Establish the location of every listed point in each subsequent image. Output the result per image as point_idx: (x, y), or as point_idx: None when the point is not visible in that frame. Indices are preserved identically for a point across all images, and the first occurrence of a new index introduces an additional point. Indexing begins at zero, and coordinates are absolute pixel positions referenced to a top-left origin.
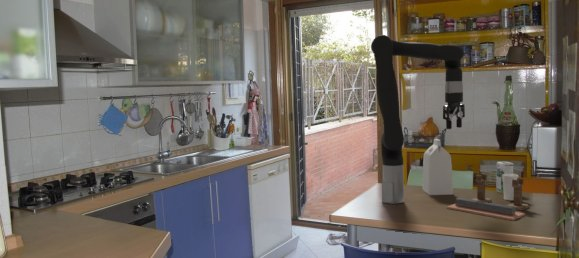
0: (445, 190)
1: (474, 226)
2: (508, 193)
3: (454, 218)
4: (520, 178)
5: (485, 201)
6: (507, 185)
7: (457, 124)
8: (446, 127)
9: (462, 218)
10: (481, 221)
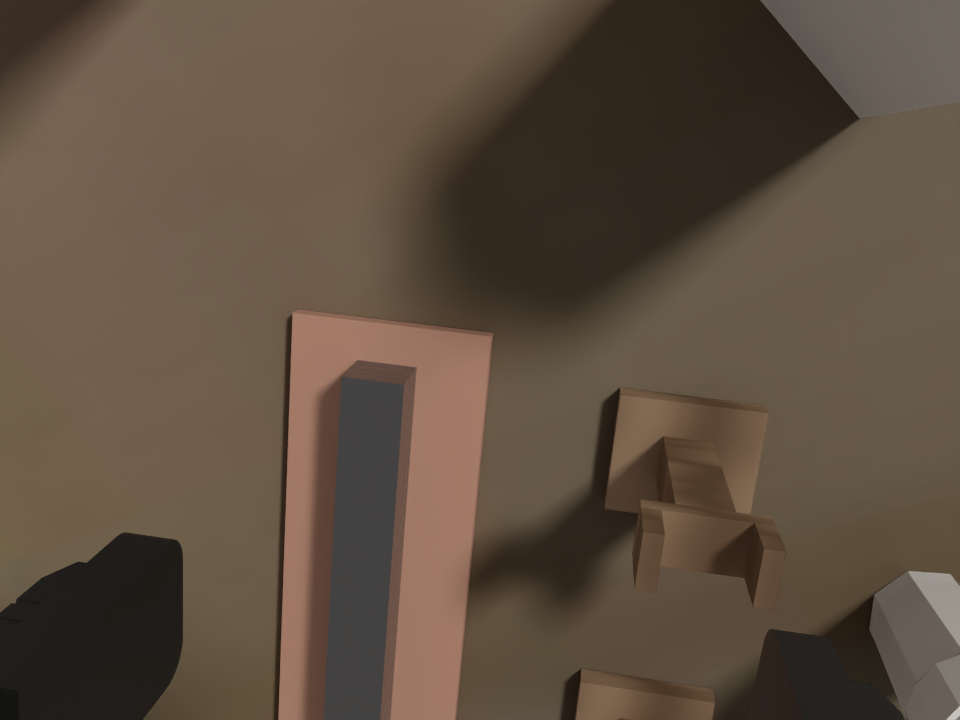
0: (817, 52)
1: None
2: (885, 649)
3: (85, 467)
4: None
5: (635, 510)
6: (908, 686)
7: (784, 712)
8: (72, 566)
9: (121, 509)
10: None
